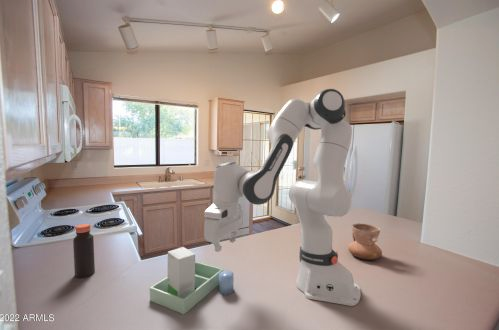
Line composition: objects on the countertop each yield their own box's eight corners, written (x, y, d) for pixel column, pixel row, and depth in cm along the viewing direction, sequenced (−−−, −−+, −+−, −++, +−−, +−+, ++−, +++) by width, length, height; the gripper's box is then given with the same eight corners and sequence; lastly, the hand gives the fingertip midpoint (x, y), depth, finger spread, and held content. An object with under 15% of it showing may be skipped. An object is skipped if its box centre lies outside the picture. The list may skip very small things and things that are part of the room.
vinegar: (98, 272, 101) (96, 224, 99) (80, 280, 95) (77, 229, 93) (89, 268, 104) (87, 222, 103) (71, 275, 98) (69, 226, 97)
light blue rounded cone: (236, 288, 90) (236, 272, 89) (228, 296, 85) (228, 279, 85) (224, 284, 92) (224, 269, 92) (216, 292, 87) (216, 275, 87)
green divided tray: (223, 280, 95) (223, 269, 95) (184, 314, 75) (183, 300, 75) (193, 271, 102) (193, 260, 101) (149, 300, 82) (149, 287, 82)
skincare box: (167, 294, 86) (166, 251, 85) (184, 287, 90) (183, 245, 89) (178, 305, 80) (178, 259, 79) (196, 296, 84) (195, 253, 83)
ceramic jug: (390, 263, 109) (391, 232, 108) (359, 264, 108) (360, 232, 107) (367, 248, 127) (368, 221, 126) (340, 248, 126) (341, 221, 125)
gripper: (233, 201, 97) (233, 235, 98) (200, 213, 79) (200, 254, 80) (247, 203, 94) (247, 238, 95) (216, 215, 76) (216, 259, 77)
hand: (225, 246), depth 87 cm, fingers open, 8 cm apart
